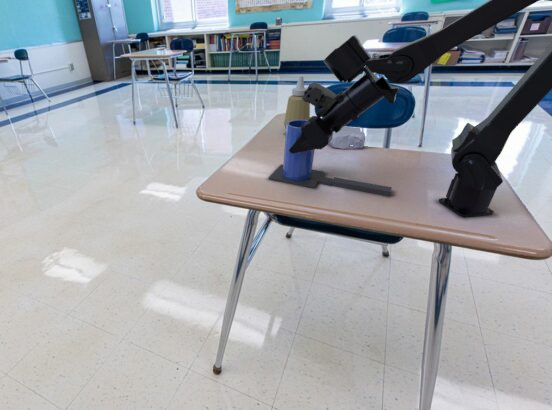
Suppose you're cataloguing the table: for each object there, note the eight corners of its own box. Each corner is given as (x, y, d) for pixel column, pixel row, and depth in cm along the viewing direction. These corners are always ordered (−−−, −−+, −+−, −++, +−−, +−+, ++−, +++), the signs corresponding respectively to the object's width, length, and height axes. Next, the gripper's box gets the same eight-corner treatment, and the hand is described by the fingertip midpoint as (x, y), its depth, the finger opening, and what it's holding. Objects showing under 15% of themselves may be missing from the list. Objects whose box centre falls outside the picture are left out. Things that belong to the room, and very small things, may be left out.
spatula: (392, 185, 74) (393, 181, 73) (387, 203, 67) (388, 198, 67) (281, 166, 86) (281, 162, 86) (268, 179, 80) (268, 175, 79)
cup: (317, 176, 78) (324, 125, 72) (294, 182, 76) (299, 129, 70) (299, 167, 84) (304, 118, 78) (277, 172, 82) (280, 122, 75)
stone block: (330, 154, 96) (367, 148, 93) (328, 138, 94) (366, 132, 91) (325, 142, 107) (359, 137, 104) (324, 127, 105) (358, 122, 102)
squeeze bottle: (311, 132, 109) (318, 75, 101) (303, 139, 104) (310, 79, 95) (288, 129, 113) (292, 74, 104) (279, 136, 108) (283, 78, 99)
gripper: (340, 63, 73) (288, 109, 83) (317, 76, 59) (258, 130, 70) (371, 102, 73) (315, 143, 84) (356, 124, 59) (292, 170, 70)
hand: (296, 145), depth 77 cm, fingers open, 9 cm apart
